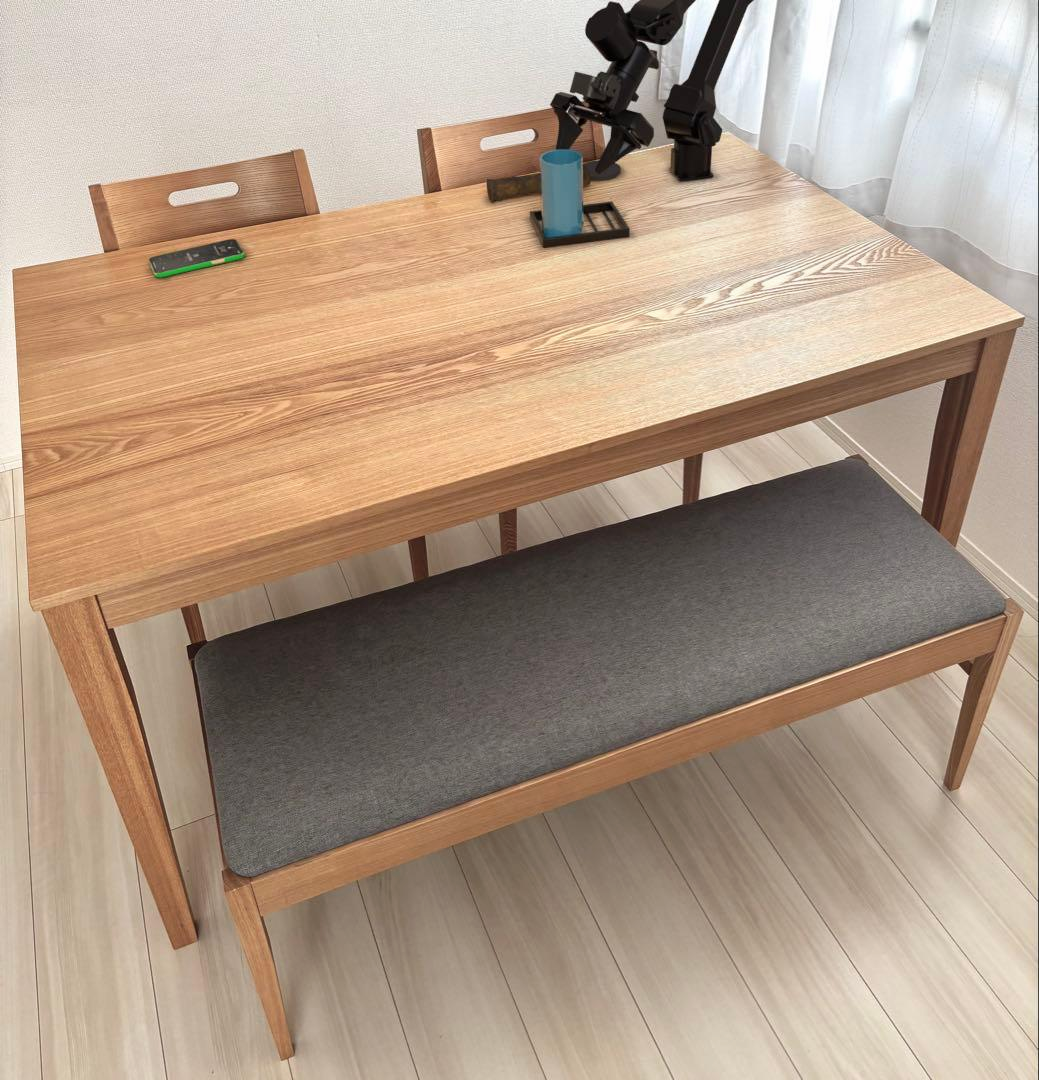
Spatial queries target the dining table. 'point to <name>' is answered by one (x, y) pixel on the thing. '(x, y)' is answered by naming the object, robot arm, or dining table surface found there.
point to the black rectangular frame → (584, 237)
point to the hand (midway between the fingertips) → (576, 166)
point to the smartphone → (196, 258)
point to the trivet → (605, 175)
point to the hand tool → (520, 185)
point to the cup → (561, 192)
